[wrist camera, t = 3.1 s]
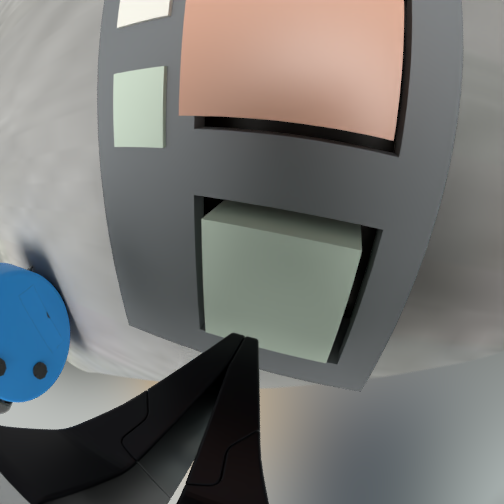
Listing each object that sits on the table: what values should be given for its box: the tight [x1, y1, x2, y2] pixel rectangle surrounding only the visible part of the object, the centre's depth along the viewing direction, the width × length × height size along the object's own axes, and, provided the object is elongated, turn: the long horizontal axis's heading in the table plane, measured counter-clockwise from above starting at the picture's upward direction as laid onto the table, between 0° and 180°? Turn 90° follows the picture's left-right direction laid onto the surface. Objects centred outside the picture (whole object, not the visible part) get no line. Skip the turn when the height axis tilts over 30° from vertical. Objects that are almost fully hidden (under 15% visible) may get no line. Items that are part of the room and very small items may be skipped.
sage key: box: [201, 200, 362, 363], centre depth 12 cm, size 5×5×4 cm
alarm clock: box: [0, 263, 70, 414], centre depth 20 cm, size 13×6×15 cm, turn 3°
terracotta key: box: [179, 0, 404, 141], centre depth 7 cm, size 5×5×4 cm
